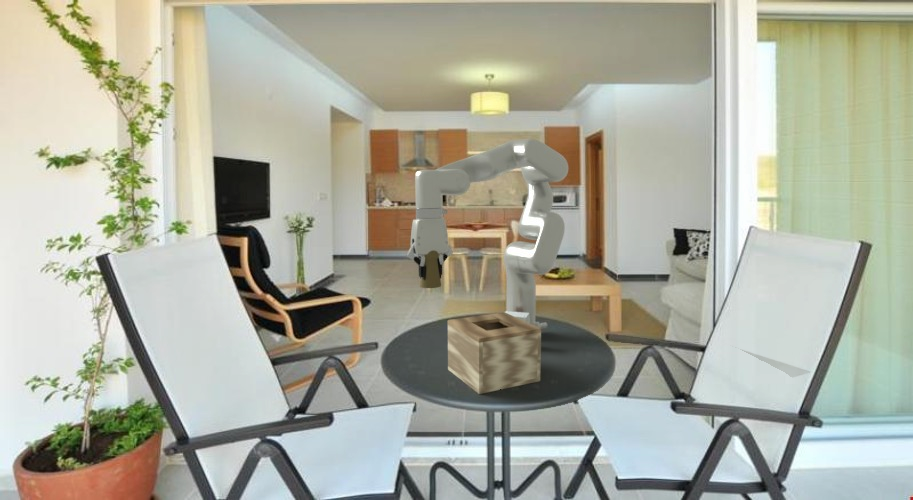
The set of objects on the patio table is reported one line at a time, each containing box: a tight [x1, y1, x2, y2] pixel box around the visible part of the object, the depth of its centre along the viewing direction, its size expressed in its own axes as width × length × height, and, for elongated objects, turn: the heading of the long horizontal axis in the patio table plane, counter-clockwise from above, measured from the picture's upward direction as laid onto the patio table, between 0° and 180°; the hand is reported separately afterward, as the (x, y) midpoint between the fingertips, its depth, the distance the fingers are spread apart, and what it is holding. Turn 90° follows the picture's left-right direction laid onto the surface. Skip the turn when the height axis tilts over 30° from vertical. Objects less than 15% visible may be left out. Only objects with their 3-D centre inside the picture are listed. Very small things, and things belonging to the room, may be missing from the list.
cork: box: [419, 251, 442, 289], centre depth 144 cm, size 6×6×11 cm
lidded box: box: [447, 311, 542, 395], centre depth 134 cm, size 18×18×14 cm
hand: (430, 277), depth 144 cm, fingers closed on cork, 3 cm apart
